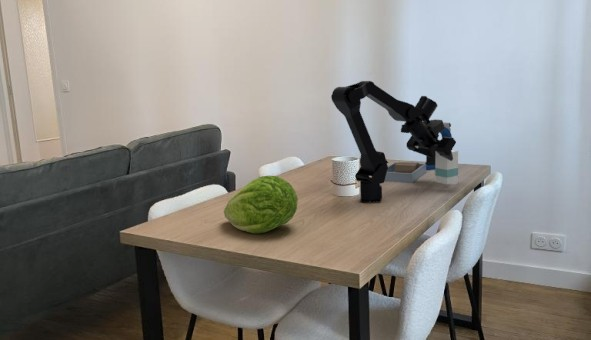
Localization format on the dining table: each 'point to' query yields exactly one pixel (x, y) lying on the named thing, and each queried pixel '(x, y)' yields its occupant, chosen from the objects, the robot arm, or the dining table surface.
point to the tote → (404, 174)
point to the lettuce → (262, 205)
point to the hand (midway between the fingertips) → (442, 158)
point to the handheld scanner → (431, 161)
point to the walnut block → (406, 167)
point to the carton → (446, 169)
